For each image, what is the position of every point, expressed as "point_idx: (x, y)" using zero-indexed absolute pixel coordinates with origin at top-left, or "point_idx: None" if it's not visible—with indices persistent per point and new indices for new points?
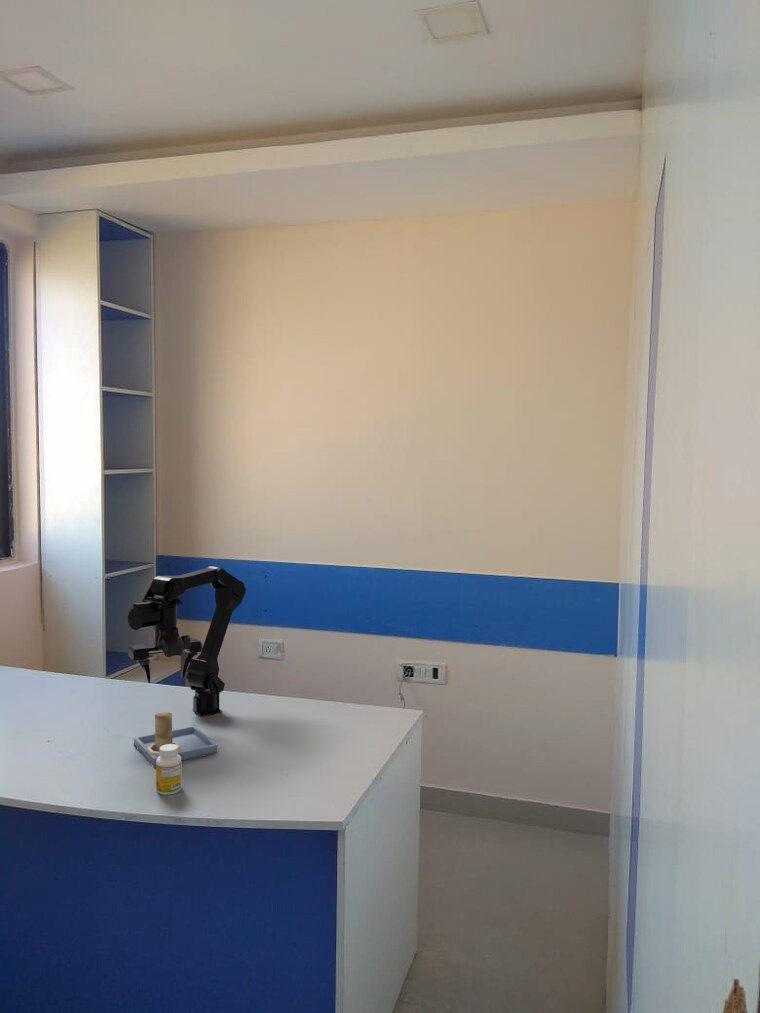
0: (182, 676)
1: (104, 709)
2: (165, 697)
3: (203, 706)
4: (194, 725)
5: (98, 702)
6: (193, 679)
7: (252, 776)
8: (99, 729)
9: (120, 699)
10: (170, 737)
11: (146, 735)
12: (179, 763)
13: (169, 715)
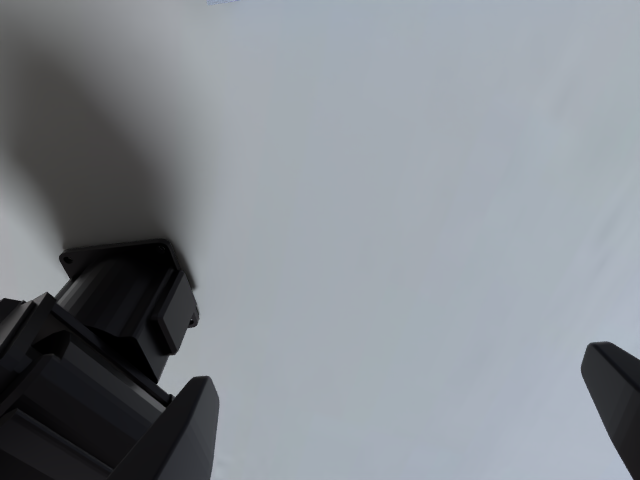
0: (203, 388)
1: (507, 424)
2: (284, 451)
3: (138, 280)
4: (207, 3)
5: (497, 473)
6: (130, 422)
7: None
8: (628, 259)
9: (426, 474)
10: None
11: None
12: None
13: None
